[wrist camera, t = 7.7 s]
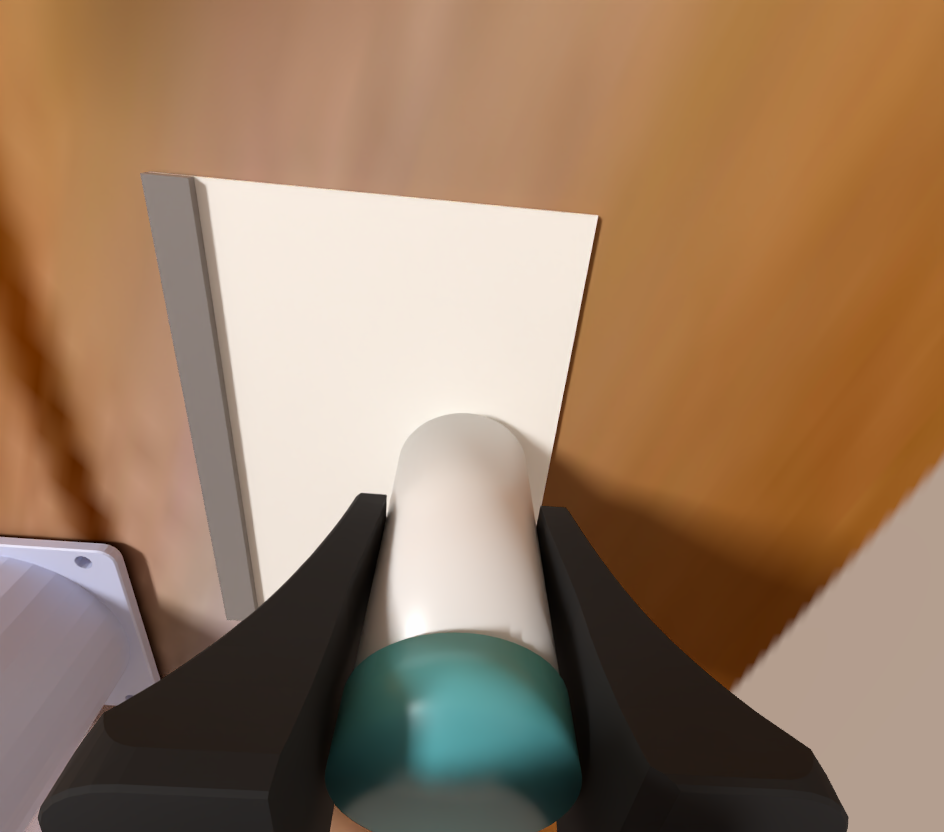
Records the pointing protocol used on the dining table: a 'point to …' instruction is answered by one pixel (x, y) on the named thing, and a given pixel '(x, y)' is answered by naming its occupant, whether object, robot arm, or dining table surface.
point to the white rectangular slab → (350, 346)
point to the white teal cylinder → (456, 652)
